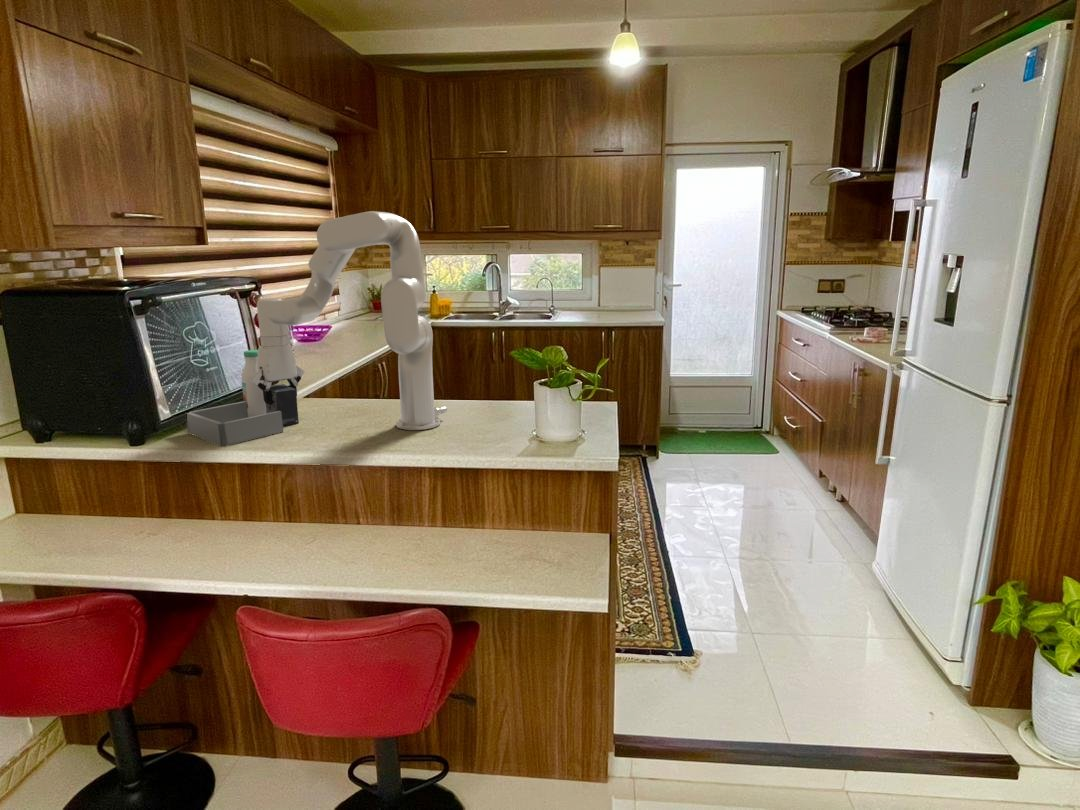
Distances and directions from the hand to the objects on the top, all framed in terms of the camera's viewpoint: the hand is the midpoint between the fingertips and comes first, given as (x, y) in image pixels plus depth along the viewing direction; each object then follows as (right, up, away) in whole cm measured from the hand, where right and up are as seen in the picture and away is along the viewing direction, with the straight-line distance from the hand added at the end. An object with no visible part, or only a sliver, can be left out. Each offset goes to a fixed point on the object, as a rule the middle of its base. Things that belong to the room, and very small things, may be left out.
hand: (281, 401), depth 197 cm
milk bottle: (-11, -4, +10) cm, 15 cm away
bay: (-9, -9, -9) cm, 15 cm away
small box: (0, -6, +2) cm, 7 cm away
